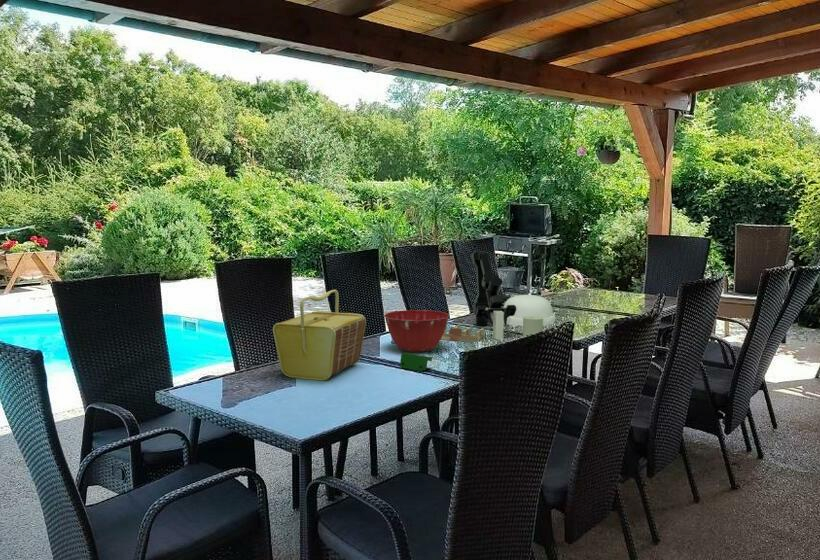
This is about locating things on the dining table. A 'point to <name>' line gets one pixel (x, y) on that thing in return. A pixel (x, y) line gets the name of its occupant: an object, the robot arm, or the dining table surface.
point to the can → (532, 324)
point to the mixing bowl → (416, 329)
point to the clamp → (414, 361)
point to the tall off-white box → (498, 324)
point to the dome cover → (530, 309)
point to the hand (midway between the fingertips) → (499, 325)
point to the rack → (463, 335)
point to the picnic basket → (319, 341)
